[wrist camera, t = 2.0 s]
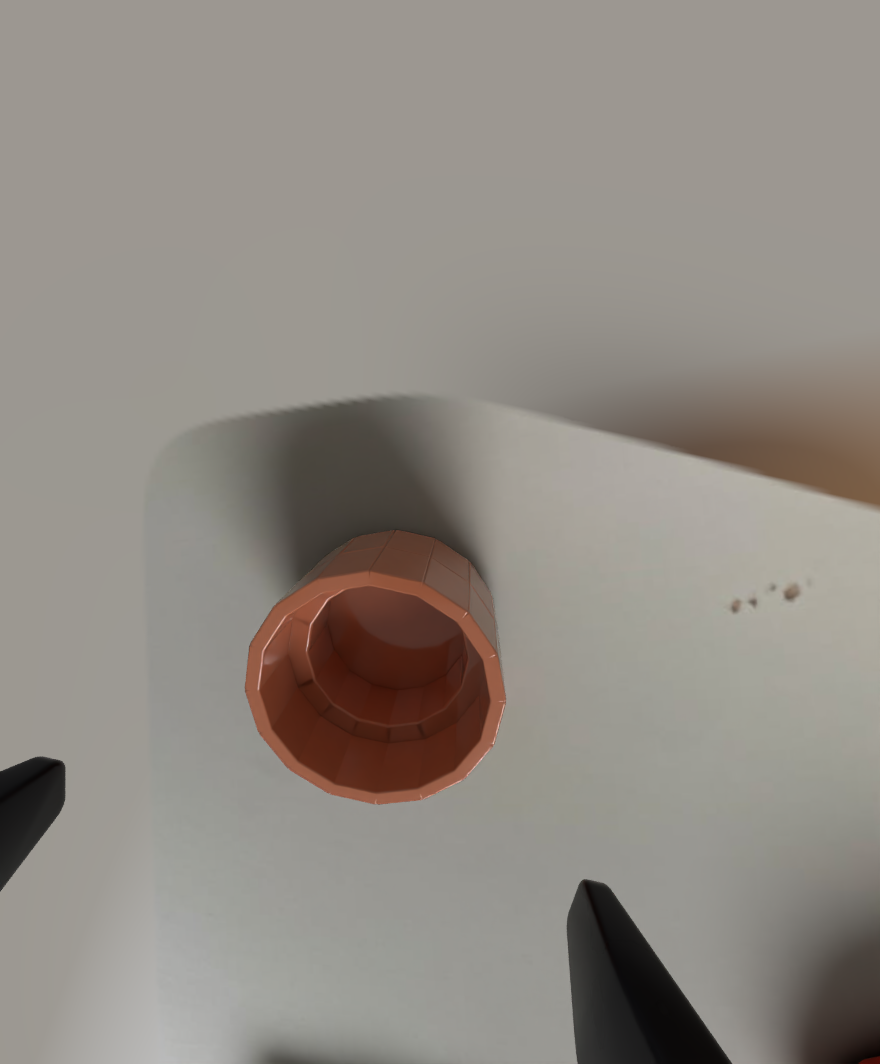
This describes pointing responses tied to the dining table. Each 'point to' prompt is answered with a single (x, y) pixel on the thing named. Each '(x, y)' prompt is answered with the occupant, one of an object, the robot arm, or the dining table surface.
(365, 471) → the dining table surface
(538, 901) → the dining table surface
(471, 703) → the bowl
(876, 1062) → the tomato
